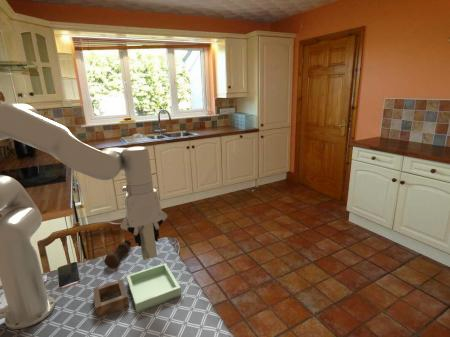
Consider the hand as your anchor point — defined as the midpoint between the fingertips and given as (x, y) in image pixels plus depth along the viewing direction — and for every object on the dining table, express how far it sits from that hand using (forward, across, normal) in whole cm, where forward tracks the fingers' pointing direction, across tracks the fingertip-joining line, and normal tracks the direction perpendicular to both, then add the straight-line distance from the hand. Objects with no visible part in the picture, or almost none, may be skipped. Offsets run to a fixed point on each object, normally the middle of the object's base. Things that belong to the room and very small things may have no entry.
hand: (147, 241), depth 88 cm
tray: (+18, 0, 0) cm, 18 cm away
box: (+5, 0, 0) cm, 5 cm away
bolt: (+18, -6, +27) cm, 33 cm away
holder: (+17, -13, +1) cm, 22 cm away
